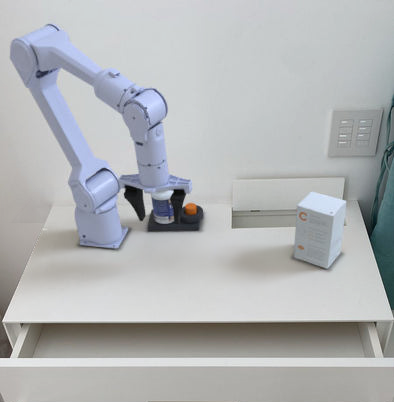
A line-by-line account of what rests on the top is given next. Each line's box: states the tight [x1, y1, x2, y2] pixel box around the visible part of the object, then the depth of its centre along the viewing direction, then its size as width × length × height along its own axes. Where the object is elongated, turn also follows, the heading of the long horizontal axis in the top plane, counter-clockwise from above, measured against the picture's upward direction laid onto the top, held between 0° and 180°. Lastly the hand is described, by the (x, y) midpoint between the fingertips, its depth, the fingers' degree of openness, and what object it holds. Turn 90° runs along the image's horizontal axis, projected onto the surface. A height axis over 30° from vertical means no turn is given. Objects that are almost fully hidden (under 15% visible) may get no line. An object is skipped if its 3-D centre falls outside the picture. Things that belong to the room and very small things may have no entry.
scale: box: [147, 204, 204, 232], centre depth 134 cm, size 13×7×3 cm, turn 85°
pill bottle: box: [150, 190, 174, 224], centre depth 131 cm, size 5×5×10 cm
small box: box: [293, 190, 348, 270], centre depth 118 cm, size 8×6×13 cm
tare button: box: [184, 202, 197, 215], centre depth 132 cm, size 3×3×2 cm
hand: (160, 220), depth 118 cm, fingers open, 7 cm apart
